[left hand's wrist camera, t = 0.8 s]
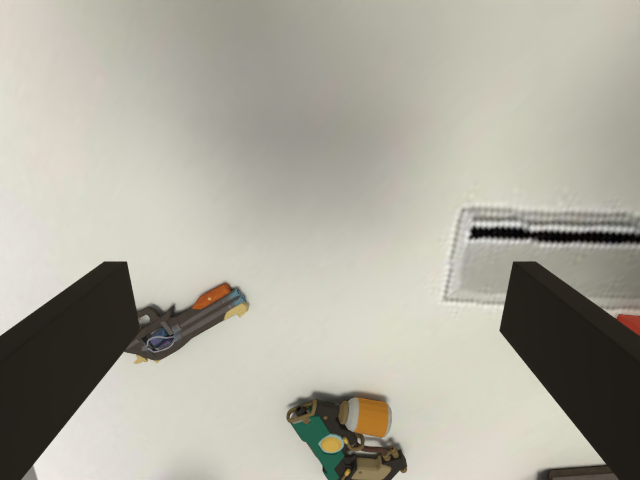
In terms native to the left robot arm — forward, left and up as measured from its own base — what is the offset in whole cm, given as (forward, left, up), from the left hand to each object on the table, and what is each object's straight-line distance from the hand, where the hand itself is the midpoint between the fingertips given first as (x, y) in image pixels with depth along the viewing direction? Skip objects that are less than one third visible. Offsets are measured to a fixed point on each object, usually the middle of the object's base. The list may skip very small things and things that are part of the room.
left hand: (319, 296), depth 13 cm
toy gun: (+18, -18, -28) cm, 38 cm away
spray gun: (+37, +5, -28) cm, 47 cm away
